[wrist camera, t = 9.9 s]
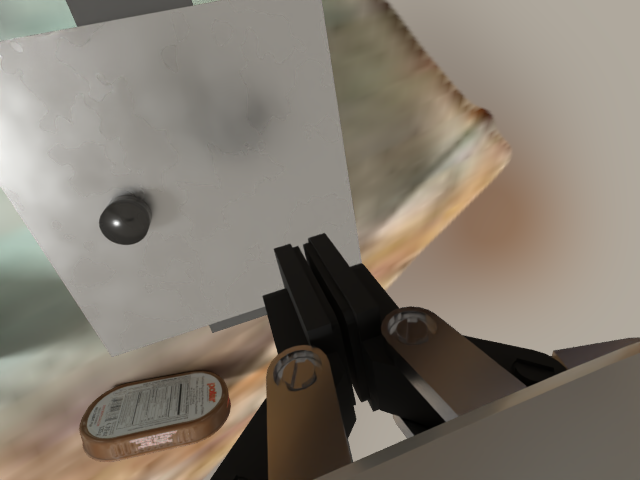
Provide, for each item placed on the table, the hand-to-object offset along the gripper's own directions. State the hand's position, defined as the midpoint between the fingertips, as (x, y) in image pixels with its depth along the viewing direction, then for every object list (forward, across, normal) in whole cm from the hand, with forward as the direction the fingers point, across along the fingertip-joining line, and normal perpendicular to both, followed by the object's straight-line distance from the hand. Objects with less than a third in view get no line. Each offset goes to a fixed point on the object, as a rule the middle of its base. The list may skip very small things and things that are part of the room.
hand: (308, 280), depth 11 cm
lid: (+14, +3, 0) cm, 14 cm away
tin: (+26, +16, +26) cm, 40 cm away
